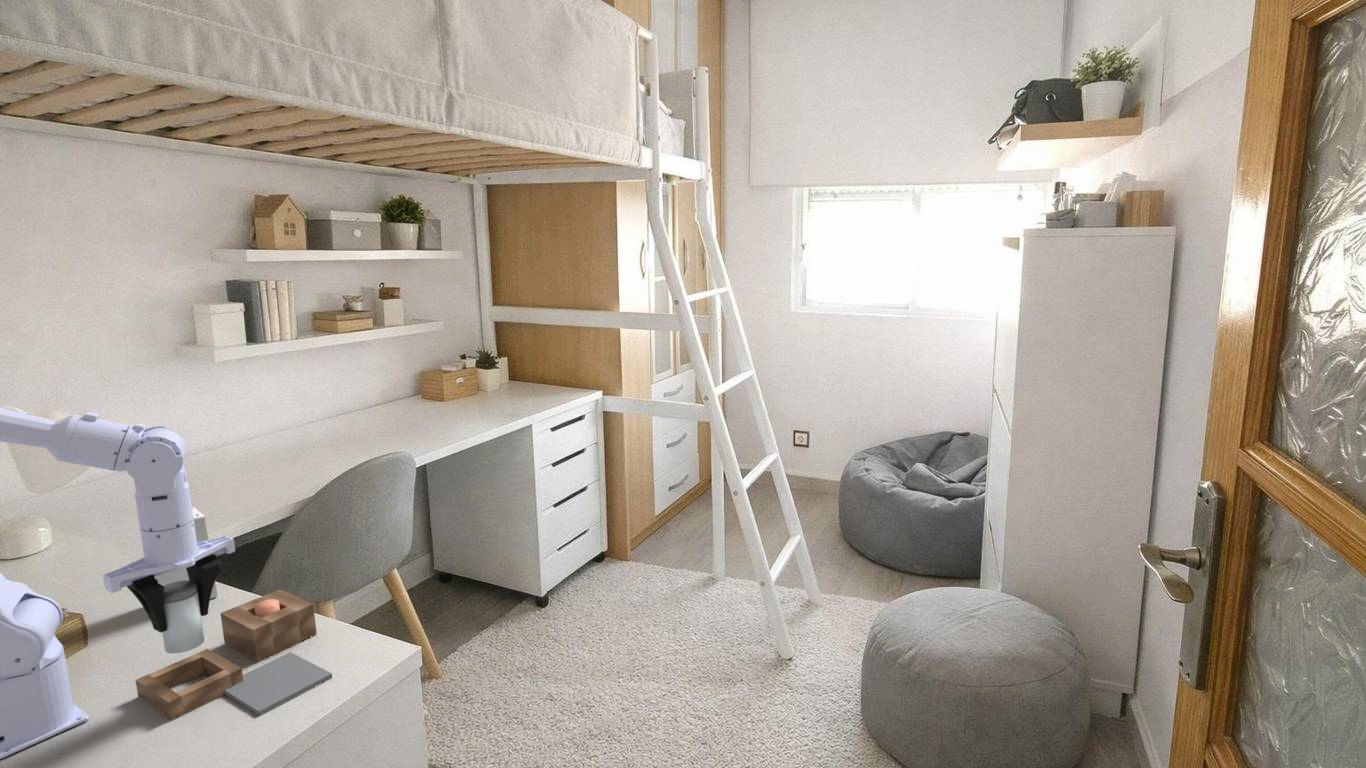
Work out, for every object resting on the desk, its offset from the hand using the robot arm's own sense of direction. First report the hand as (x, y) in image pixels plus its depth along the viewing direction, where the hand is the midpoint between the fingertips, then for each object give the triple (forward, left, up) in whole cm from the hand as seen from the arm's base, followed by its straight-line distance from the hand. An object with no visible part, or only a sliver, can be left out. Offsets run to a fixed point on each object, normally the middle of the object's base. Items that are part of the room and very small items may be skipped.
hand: (181, 621), depth 100 cm
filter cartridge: (0, 0, -3) cm, 3 cm away
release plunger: (+13, +4, -9) cm, 17 cm away
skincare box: (+12, +28, -10) cm, 32 cm away
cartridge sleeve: (0, 0, -10) cm, 10 cm away
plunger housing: (+13, +4, -10) cm, 17 cm away
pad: (+7, -8, -10) cm, 15 cm away
